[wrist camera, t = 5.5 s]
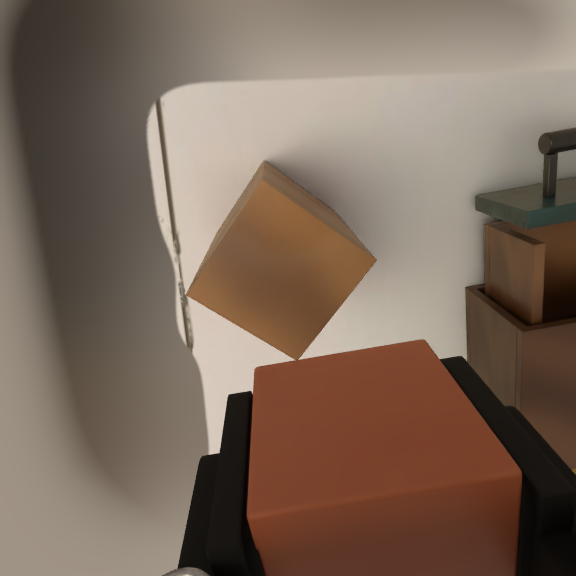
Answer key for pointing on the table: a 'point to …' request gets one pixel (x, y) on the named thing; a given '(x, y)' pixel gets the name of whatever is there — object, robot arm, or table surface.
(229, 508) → the robot arm
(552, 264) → the drawer
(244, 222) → the stand
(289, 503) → the block
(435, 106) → the table surface
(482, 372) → the cabinet
